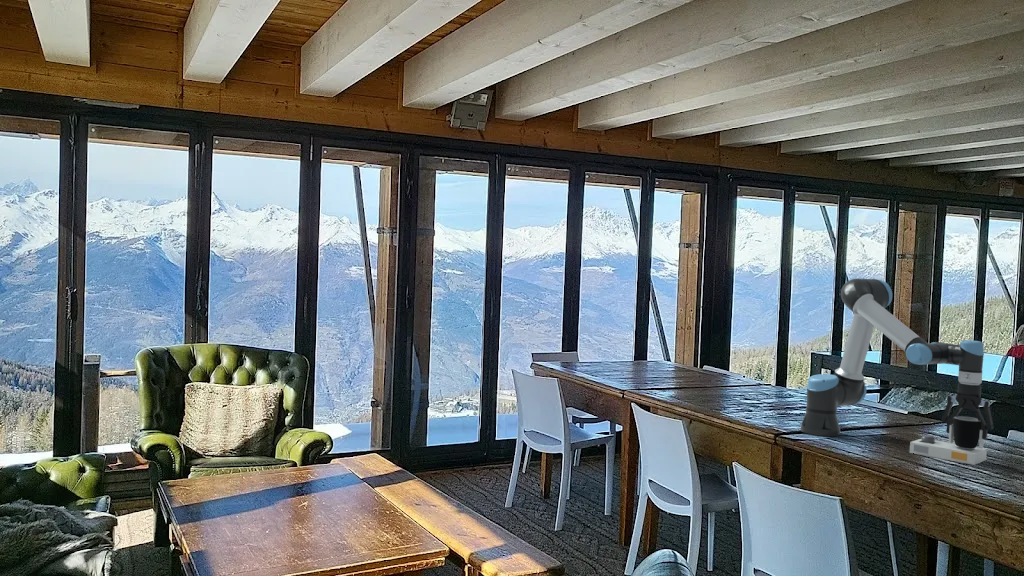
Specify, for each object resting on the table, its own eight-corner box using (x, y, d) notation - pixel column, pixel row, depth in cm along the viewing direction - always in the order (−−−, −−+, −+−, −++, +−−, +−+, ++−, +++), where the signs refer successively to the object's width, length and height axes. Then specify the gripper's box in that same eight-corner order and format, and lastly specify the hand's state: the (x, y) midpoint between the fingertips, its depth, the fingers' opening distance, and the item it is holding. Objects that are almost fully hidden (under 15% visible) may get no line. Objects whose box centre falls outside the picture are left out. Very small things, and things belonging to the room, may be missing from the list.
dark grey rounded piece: (919, 444, 315) (919, 436, 315) (923, 442, 318) (924, 434, 318) (931, 446, 312) (932, 438, 312) (936, 445, 315) (936, 437, 315)
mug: (985, 449, 300) (987, 421, 300) (959, 448, 300) (961, 420, 300) (966, 442, 312) (968, 415, 312) (942, 441, 312) (944, 414, 312)
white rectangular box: (909, 452, 313) (909, 442, 313) (922, 448, 322) (923, 437, 322) (973, 465, 297) (974, 453, 297) (986, 459, 307) (986, 448, 306)
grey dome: (956, 456, 306) (957, 448, 305) (960, 455, 309) (961, 447, 309) (969, 459, 302) (970, 451, 302) (973, 457, 306) (974, 449, 305)
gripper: (933, 380, 310) (929, 440, 311) (1000, 388, 294) (996, 452, 295) (941, 378, 315) (937, 438, 316) (1007, 386, 299) (1002, 449, 300)
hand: (965, 445), depth 305 cm, fingers closed on mug, 9 cm apart
